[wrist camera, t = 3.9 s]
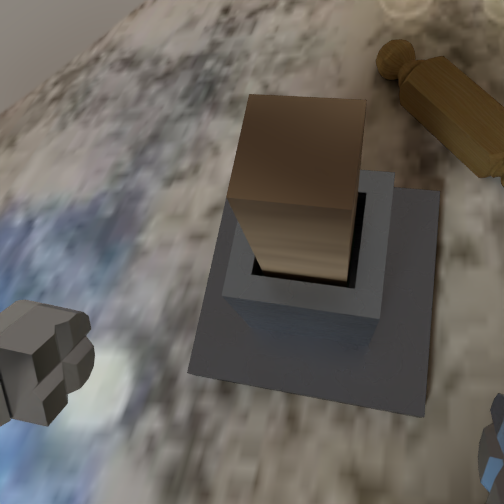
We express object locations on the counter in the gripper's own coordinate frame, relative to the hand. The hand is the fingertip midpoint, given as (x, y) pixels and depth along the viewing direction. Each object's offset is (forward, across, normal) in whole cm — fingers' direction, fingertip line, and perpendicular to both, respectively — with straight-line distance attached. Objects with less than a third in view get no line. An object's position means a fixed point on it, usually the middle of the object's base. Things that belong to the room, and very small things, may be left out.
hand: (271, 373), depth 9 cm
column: (+19, +1, +8) cm, 20 cm away
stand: (+20, +1, +10) cm, 22 cm away
